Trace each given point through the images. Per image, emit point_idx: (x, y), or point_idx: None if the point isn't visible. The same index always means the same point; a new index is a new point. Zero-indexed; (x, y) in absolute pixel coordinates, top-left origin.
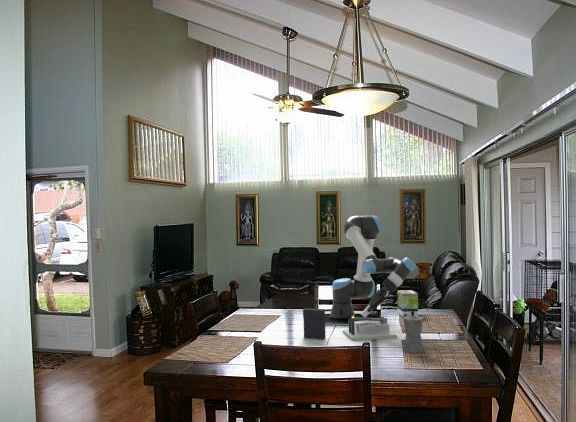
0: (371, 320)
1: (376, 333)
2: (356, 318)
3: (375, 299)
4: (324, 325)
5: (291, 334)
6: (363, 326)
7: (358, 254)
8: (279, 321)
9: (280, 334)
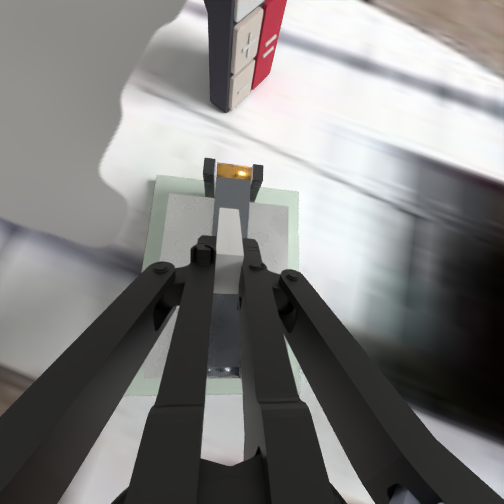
0: None
1: None
2: (216, 184)
3: (199, 320)
4: (220, 58)
5: (309, 50)
6: (166, 217)
7: None
8: (479, 79)
9: (316, 26)
